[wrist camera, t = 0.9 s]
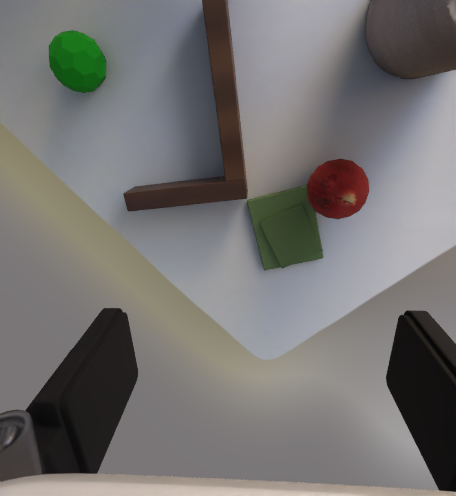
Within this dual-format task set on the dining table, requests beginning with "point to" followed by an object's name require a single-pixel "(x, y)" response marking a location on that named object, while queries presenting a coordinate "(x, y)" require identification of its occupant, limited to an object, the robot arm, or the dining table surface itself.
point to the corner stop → (229, 129)
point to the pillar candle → (412, 36)
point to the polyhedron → (77, 61)
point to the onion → (338, 188)
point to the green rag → (285, 228)
